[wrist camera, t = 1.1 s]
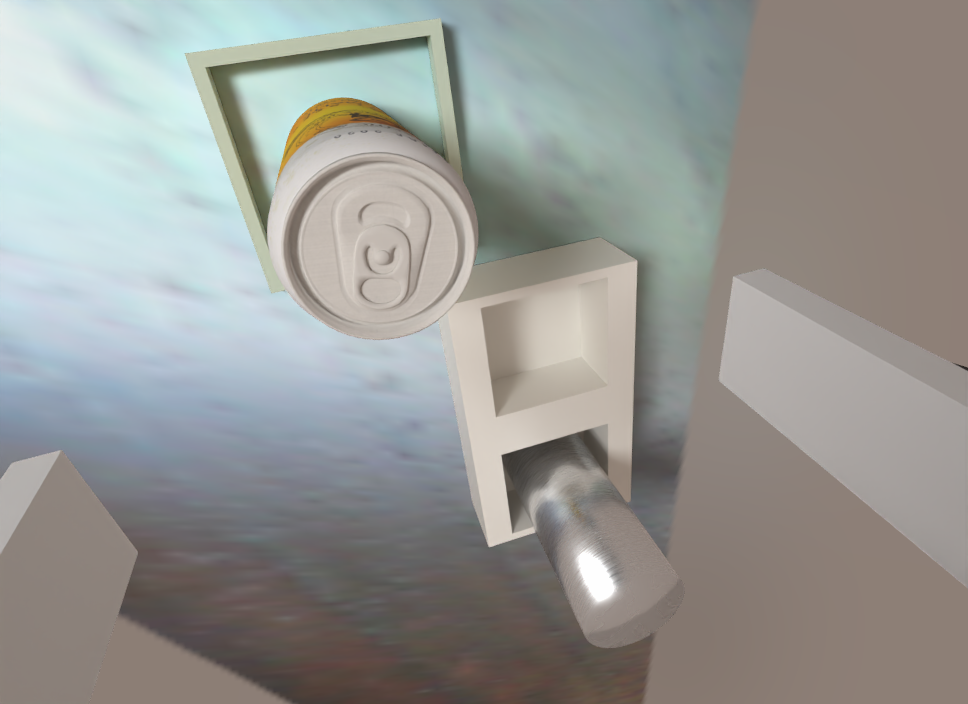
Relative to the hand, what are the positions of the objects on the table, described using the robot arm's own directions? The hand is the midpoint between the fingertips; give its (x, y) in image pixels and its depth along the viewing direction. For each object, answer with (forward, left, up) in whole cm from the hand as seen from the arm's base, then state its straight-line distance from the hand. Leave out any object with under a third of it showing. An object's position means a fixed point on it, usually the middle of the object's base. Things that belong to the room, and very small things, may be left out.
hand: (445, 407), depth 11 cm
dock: (+15, +8, -21) cm, 27 cm away
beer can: (-1, 0, -21) cm, 21 cm away
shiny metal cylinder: (+20, +8, -20) cm, 30 cm away
